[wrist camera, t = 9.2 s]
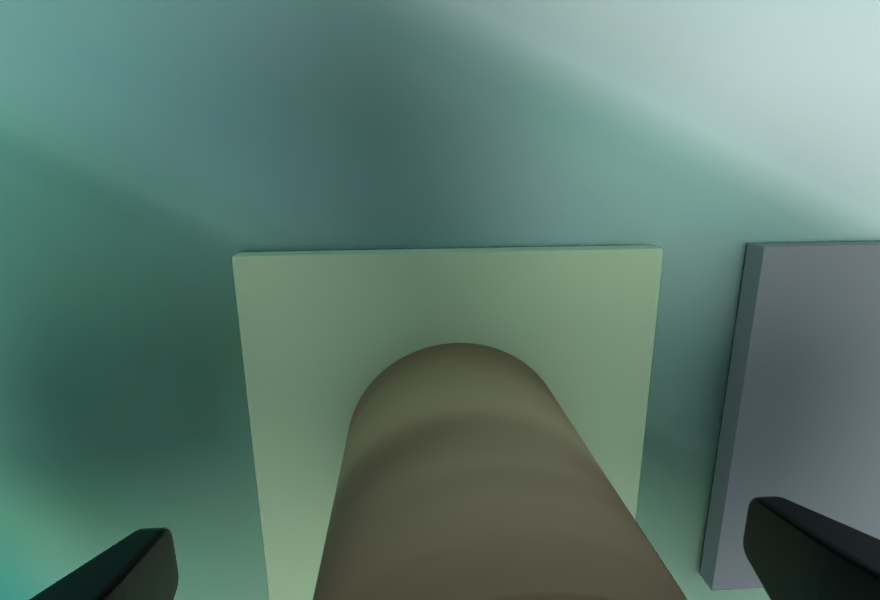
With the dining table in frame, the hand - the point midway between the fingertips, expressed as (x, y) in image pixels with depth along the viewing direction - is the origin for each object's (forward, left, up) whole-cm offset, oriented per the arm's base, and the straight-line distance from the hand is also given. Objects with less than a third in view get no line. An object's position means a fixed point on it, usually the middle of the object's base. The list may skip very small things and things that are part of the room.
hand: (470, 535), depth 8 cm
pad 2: (0, -10, -3) cm, 10 cm away
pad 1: (0, 0, -3) cm, 3 cm away
